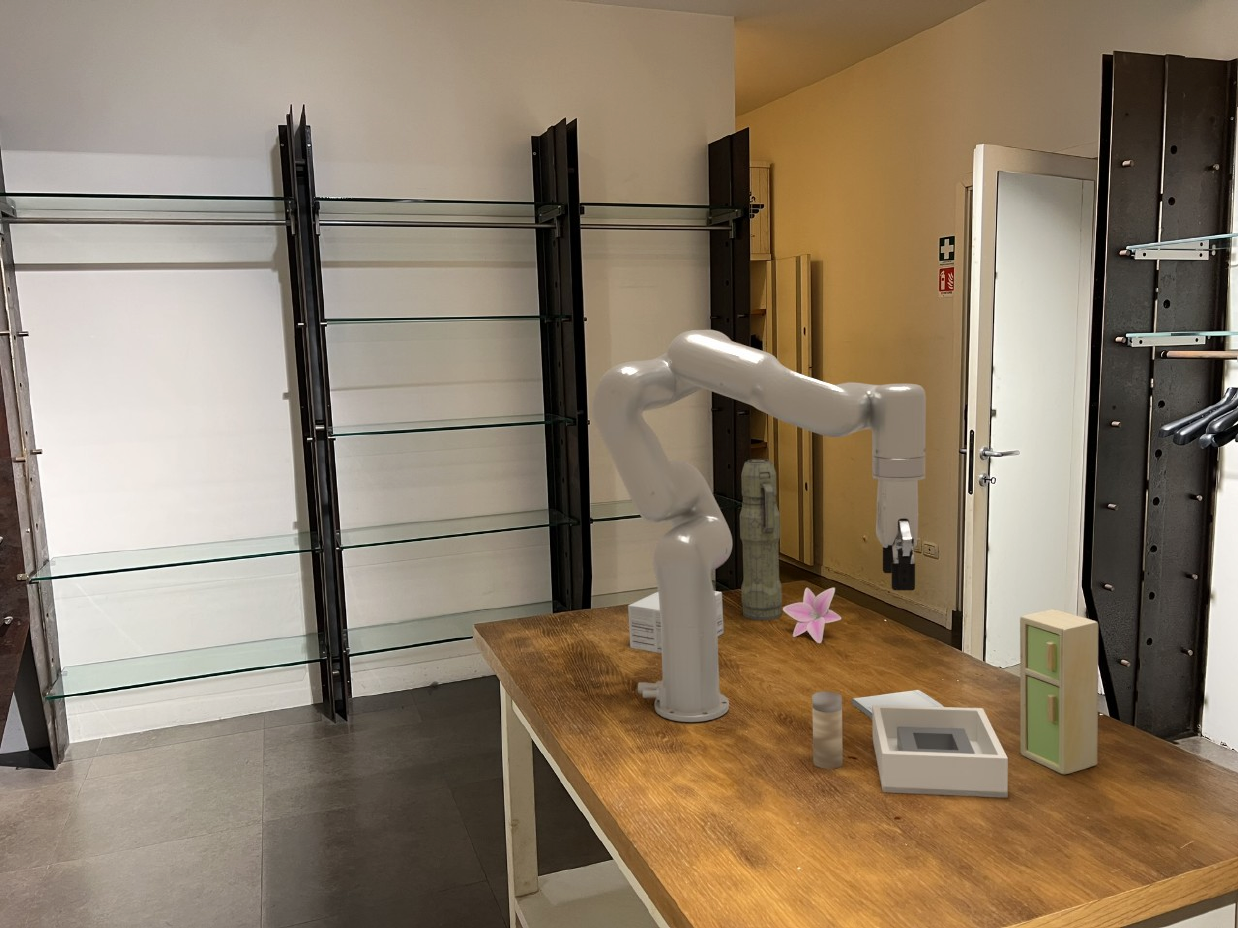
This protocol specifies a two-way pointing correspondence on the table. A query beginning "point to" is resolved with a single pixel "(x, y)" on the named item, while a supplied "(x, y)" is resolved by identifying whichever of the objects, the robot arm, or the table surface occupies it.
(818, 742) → the peg
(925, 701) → the hard drive
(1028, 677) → the toy refrigerator
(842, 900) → the table surface
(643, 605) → the supplement box
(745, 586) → the thermos
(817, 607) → the lily
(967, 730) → the walled box
